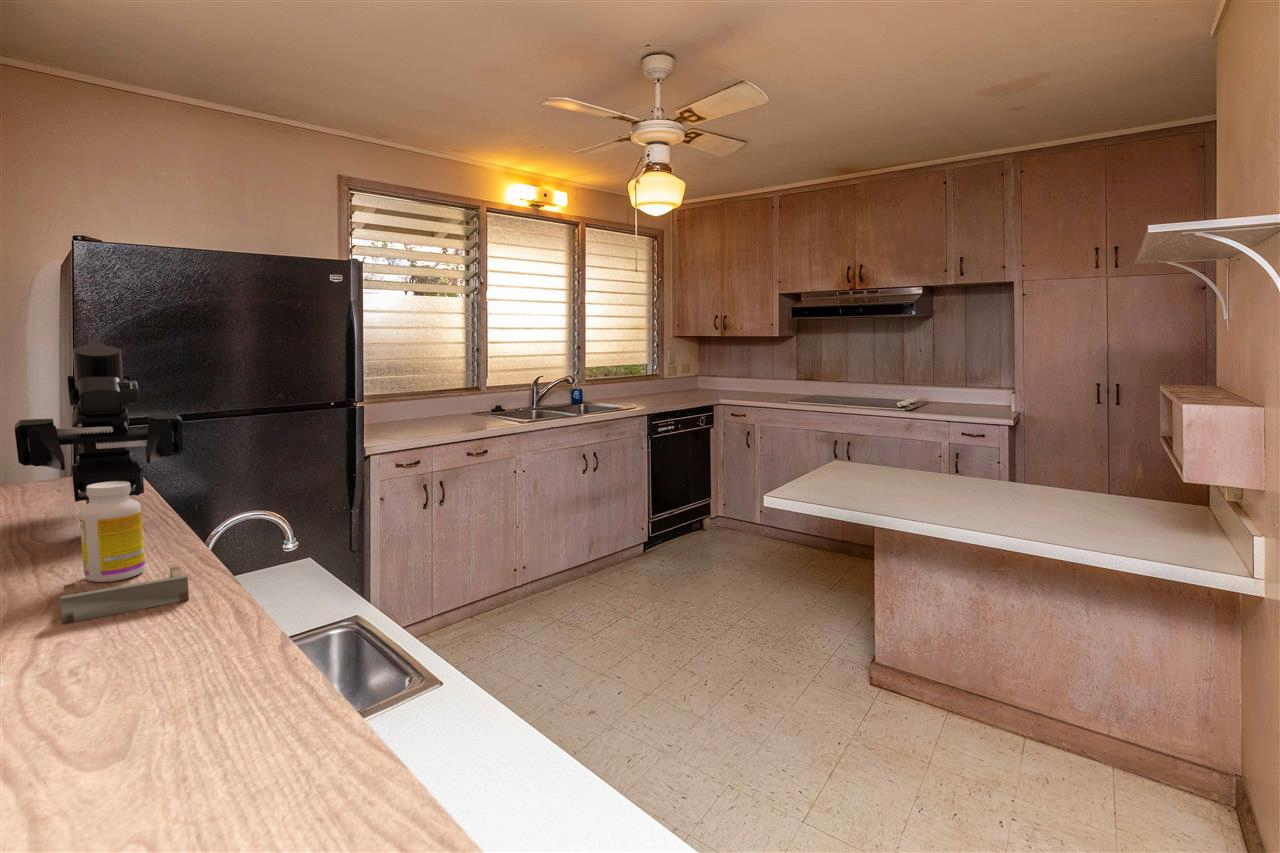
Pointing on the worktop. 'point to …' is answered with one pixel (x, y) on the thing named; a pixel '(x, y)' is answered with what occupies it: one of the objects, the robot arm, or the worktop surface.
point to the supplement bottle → (111, 533)
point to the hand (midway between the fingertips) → (107, 463)
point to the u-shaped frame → (123, 597)
